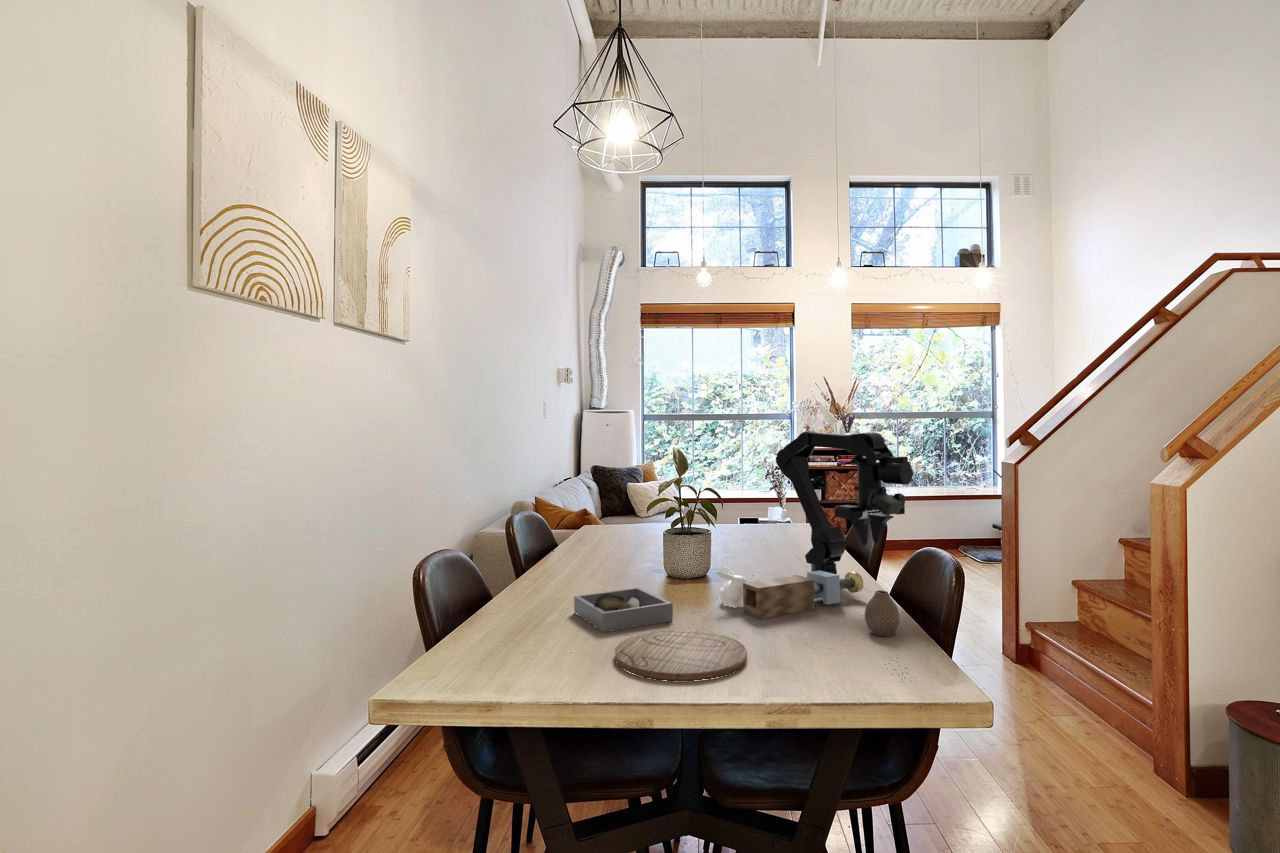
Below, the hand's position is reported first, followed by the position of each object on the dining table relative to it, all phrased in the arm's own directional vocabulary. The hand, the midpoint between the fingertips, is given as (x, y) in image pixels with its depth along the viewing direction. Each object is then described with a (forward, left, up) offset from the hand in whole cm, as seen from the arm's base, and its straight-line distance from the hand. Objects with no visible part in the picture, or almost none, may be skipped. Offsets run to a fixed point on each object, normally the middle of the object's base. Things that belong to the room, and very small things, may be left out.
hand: (870, 544), depth 176 cm
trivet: (+16, -65, -14) cm, 68 cm away
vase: (+24, -21, -13) cm, 35 cm away
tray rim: (-14, -63, -13) cm, 66 cm away
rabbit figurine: (-10, -36, -13) cm, 39 cm away
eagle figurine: (-12, -66, -13) cm, 68 cm away
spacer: (0, -16, -12) cm, 20 cm away
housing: (0, -29, -13) cm, 32 cm away
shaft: (0, -15, -11) cm, 19 cm away
